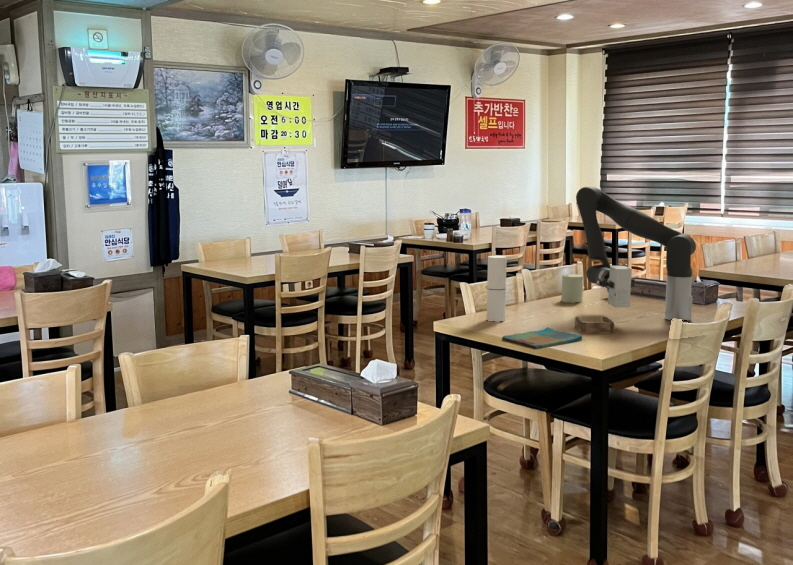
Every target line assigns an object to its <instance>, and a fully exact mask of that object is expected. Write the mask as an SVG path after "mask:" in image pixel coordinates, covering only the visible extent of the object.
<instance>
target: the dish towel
mask: <svg viewBox="0 0 793 565" xmlns="http://www.w3.org/2000/svg"><path fill="white" fill-rule="evenodd" d="M582 339H583V335H581V334H580V333H572V332H566V331H561V330H556V329H554V328H552V327H549V326H547V327H546V328H543V329H541V330H531V331H526V332H521V333H518V332H517V333H513V334H507V335H503V336H502V337H501V341H504V342H508V343H512V344H516V345H519V346H521V347H527V348H530V349H535V350H538V349H544V348H550V347H555V346H558V345H566V344H570V343H575V342H579V341H582Z"/></svg>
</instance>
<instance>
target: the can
mask: <svg viewBox="0 0 793 565" xmlns="http://www.w3.org/2000/svg"><path fill="white" fill-rule="evenodd" d="M583 280H584V275H583V274H577V273H565V274H561V298H560V302H562V301H563V303H567V302H571V303H570V304H576V303H575V302H580V303H582V302H583V282H584V281H583Z"/></svg>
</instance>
